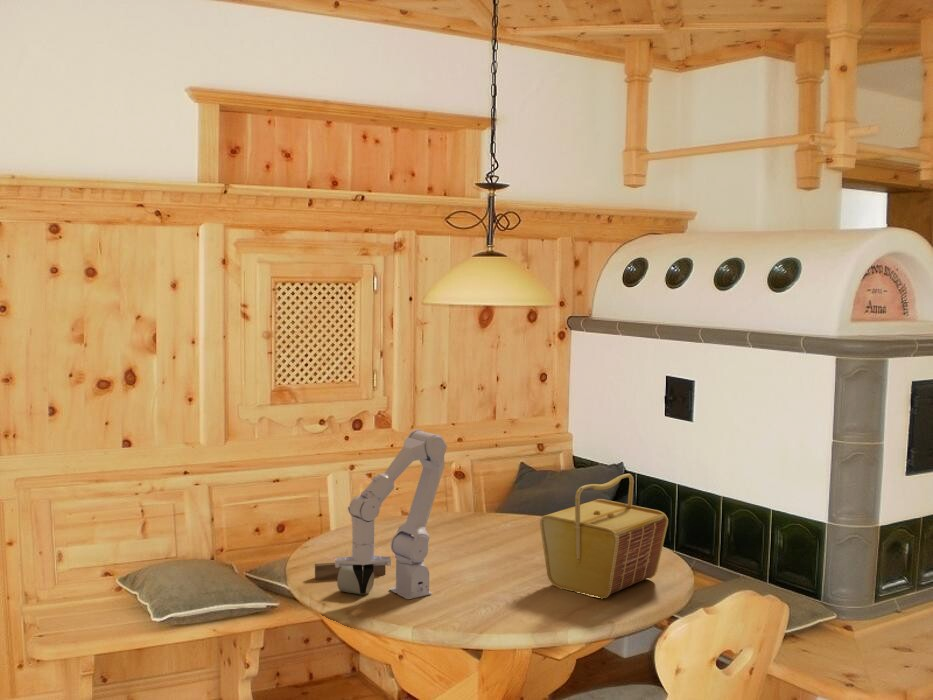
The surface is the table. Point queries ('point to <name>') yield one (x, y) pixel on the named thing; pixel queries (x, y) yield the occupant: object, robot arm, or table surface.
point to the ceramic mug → (351, 581)
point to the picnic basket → (602, 543)
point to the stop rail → (332, 572)
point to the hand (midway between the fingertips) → (362, 592)
